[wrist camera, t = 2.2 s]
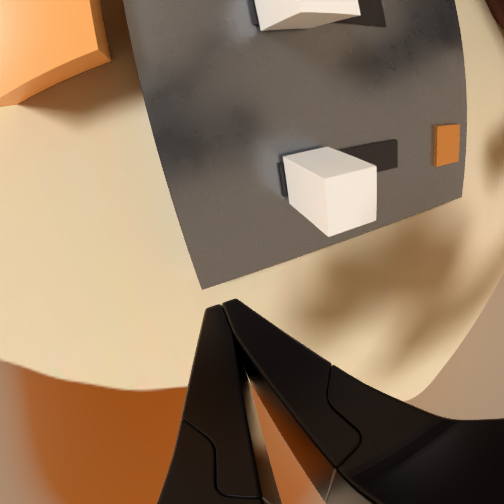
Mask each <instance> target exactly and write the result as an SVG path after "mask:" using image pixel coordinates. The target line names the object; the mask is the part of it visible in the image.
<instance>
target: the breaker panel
mask: <svg viewBox="0 0 504 504" xmlns="http://www.w3.org/2000/svg"><path fill="white" fill-rule="evenodd" d="M123 3H124V9H125V14H126V20H127V25H128V30H129V35H130V40H131V44H132V49H133V54H134V58H135V63H136V67H137V72H138V76H139V80H140V85H141V89H142V93H143V97H144V101H145V105H146V109H147V113H148V117H149V120H150V124H151V128H152V132H153V136H154V139H155V143H156V146H157V150H158V154H159V157H160V161H161V164H162V168H163V171H164V175H165V178H166V181H167V185H168V188H169V191H170V195H171V198H172V201H173V204H174V208H175V211H176V214H177V217H178V220H179V223H180V226H181V230H182V233H183V236H184V239H185V242H186V245H187V248H188V251H189V254H190V257H191V260H192V262H193V265H194V268H195V271H196V274H197V277H198V280H199V283H200V285H201V288H202V290H203V289H206V288H209V287H212V286H215V285H218V284H221V283H224V282H227V281H230V280H233V279H236V278H239V277H242V276H245V275H248V274H250V273H253V272H256V271H259V270H262V269H265V268H268V267H271V266H274V265H277V264H279V263H282V262H285V261H288V260H291V259H294V258H297V257H300V256H302V255H305V254H308V253H311V252H314V251H317V250H319V249H322V248H325V247H328V246H331V245H333V244H336V243H339V242H342V241H345V240H347V239H350V238H353V237H356V236H358V235H361V234H364V233H367V232H369V231H372V230H375V229H378V228H380V227H383V226H386V225H388V224H391V223H394V222H397V221H399V220H402V219H405V218H407V217H410V216H413V215H415V214H418V213H421V212H423V211H426V210H429V209H431V208H434V207H437V206H439V205H442V204H444V203H447V202H450V201H452V200H455V199H457V198H460V197H462V189H463V179H464V169H465V155H466V132H467V102H466V80H465V67H464V56H463V48H462V40H461V33H460V27H459V21H458V16H457V11H456V6H455V1H454V0H358V4H359V9H360V14H361V15H360V16H356V17H351V18H347V19H343V20H339V21H335V22H331V23H328V24H324V25H321V26H317V27H314V28H305V29H281V30H267V31H261V29H260V24H259V20H258V15H257V10H256V6H255V1H254V0H123ZM324 147H330V148H333V149H335V150H338V151H341V152H343V153H346V154H348V155H351V156H353V157H356V158H358V159H361V160H363V161H366V162H368V163H370V164H373V165H375V166H377V211H376V221H373V222H370V223H367V224H365V225H362V226H359V227H356V228H353V229H350V230H347V231H344V232H342V233H339V234H336V235H333V236H330V237H328V236H327V235H325V234H324V233H323V232H322V231H321V230H320V229H319V228H317V227H316V226H315V225H314V224H313V223H312V222H310V221H309V220H308V219H307V218H306V217H305V216H303V215H302V214H301V213H300V212H299V211H298V210H296V209H295V208H294V207H293V206H292V205H290V204H289V197H288V189H287V182H286V175H285V168H284V161H283V156H287V155H292V154H296V153H301V152H305V151H310V150H314V149H319V148H324Z"/></svg>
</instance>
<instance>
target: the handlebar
mask: <svg viewBox="0 0 504 504" xmlns="http://www.w3.org/2000/svg"><path fill="white" fill-rule="evenodd" d="M486 2H487V4H488V6H489V8H490V10H491V13H492V15H493V16H494V18H495V19H496V21H497V22H498V24H499V25H500V26H501V27H502V28H503V29H504V0H486Z"/></svg>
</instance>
